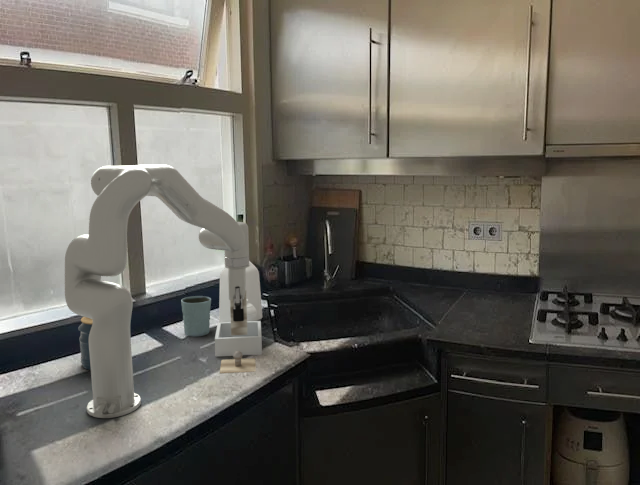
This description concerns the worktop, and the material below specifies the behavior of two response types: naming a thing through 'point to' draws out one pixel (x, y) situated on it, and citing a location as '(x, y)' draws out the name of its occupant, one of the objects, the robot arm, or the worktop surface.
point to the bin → (238, 340)
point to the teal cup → (196, 315)
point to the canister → (85, 341)
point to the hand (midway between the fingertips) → (238, 317)
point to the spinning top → (251, 312)
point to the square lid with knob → (238, 364)
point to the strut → (239, 326)
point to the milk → (251, 293)
